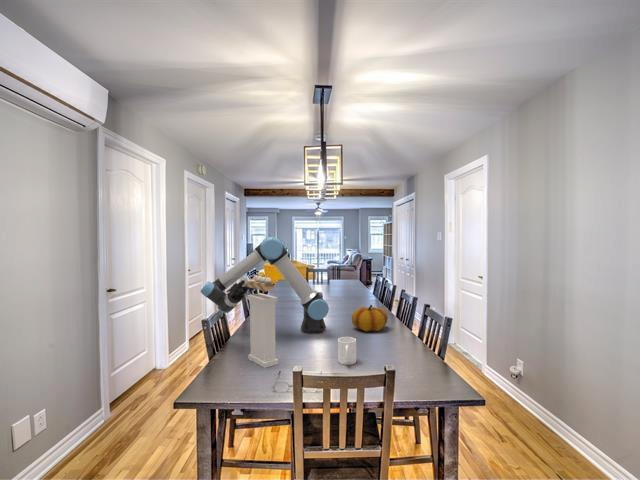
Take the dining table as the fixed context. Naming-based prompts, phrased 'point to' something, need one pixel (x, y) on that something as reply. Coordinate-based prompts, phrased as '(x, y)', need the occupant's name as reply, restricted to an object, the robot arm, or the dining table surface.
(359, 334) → the dining table surface
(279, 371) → the eyeglasses
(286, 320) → the dining table surface
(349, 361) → the cup
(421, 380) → the dining table surface
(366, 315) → the decorative pumpkin
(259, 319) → the pedestal
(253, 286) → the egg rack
